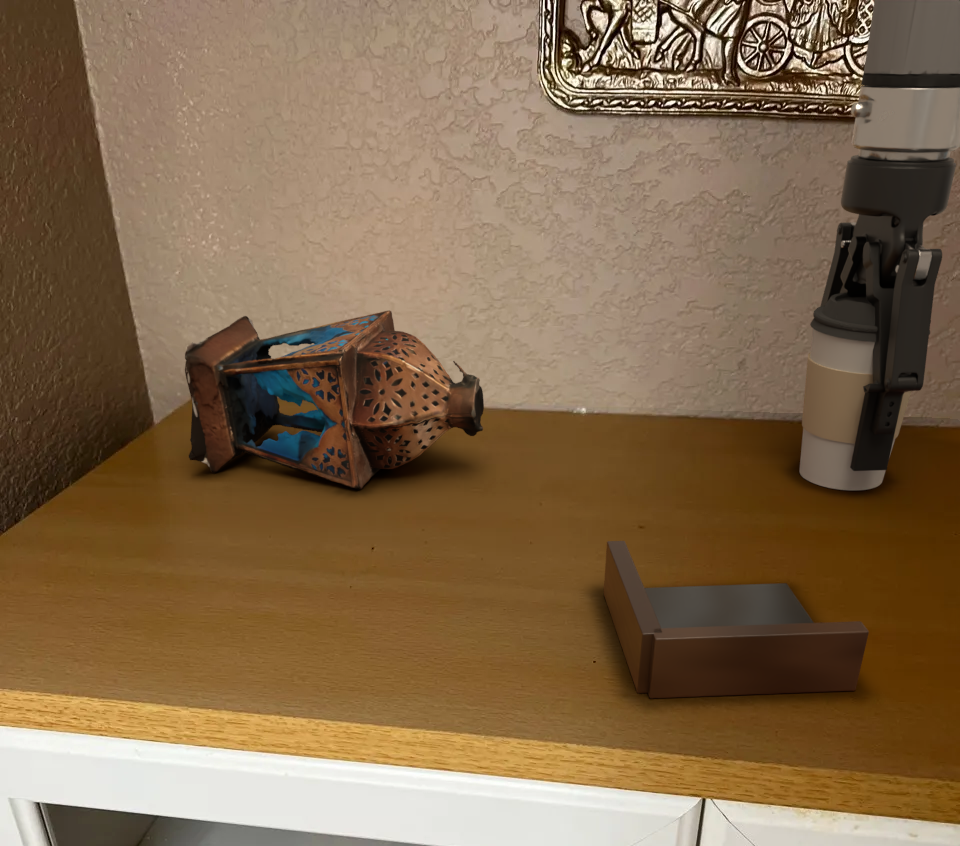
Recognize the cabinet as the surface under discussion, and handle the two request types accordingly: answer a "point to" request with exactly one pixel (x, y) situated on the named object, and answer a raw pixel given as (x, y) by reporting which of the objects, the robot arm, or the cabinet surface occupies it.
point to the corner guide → (725, 638)
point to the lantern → (325, 398)
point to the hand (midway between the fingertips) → (845, 447)
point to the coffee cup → (839, 393)
